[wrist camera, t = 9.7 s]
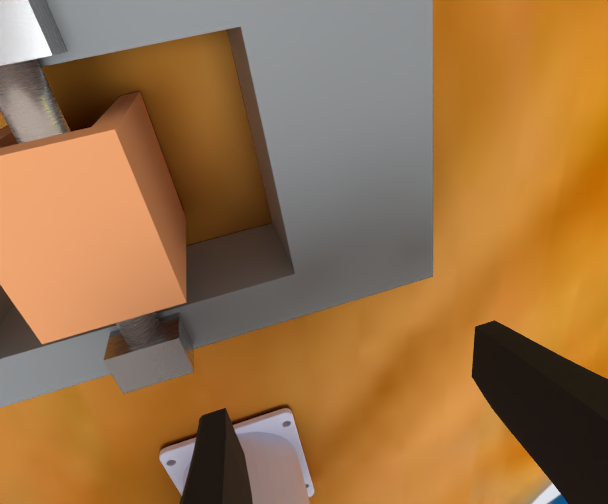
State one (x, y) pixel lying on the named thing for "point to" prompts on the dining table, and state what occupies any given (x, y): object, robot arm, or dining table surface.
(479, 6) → the dining table surface
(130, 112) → the open-top orange sleeve
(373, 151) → the thick gray rectangular frame
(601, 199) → the dining table surface
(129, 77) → the dining table surface
